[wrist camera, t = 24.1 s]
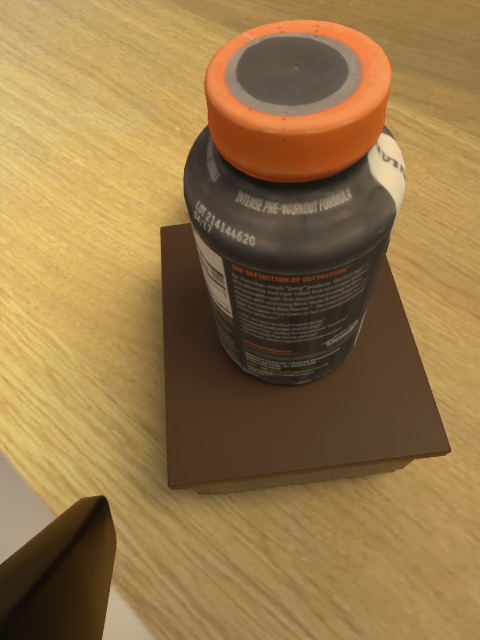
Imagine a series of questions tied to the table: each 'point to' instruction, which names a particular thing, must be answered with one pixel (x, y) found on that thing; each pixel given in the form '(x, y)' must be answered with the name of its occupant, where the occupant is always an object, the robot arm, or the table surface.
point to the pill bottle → (294, 194)
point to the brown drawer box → (287, 396)
